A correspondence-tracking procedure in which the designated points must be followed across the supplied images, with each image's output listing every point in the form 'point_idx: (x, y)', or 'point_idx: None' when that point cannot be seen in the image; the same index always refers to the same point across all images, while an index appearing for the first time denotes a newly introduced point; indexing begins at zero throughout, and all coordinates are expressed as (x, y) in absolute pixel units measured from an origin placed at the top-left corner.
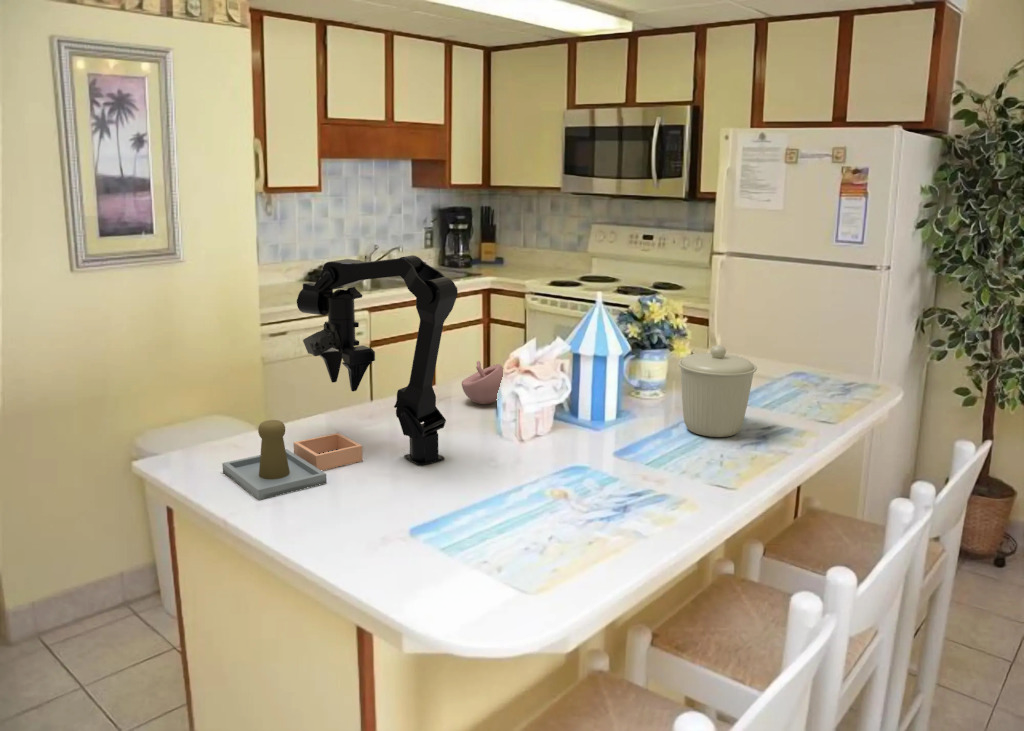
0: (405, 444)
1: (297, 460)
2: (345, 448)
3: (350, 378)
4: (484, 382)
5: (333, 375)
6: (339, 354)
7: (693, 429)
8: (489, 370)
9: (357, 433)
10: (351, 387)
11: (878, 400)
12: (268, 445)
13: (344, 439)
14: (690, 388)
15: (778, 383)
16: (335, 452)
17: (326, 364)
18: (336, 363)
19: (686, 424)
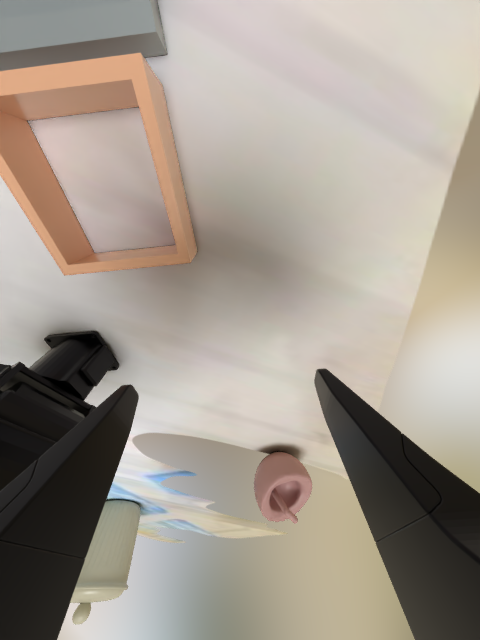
0: (169, 355)
1: (16, 20)
2: (40, 226)
3: (53, 454)
4: (261, 490)
5: (330, 404)
6: (411, 602)
7: (111, 504)
8: (293, 504)
9: (265, 316)
10: (109, 399)
11: (152, 537)
12: None
13: (135, 257)
14: (90, 556)
15: (202, 531)
16: (9, 183)
17: (418, 466)
18: (369, 496)
19: (120, 506)
